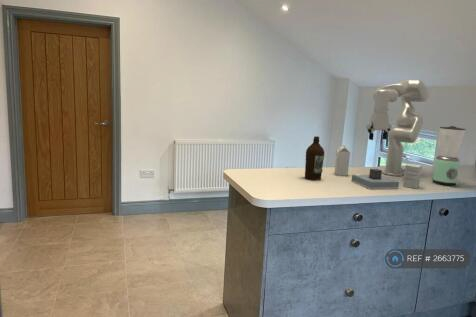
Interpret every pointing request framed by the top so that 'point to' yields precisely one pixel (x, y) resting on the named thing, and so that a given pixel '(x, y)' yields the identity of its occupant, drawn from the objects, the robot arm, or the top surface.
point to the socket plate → (375, 182)
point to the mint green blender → (448, 155)
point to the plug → (375, 174)
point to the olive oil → (314, 160)
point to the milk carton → (342, 161)
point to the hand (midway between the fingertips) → (377, 139)
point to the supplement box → (412, 176)
